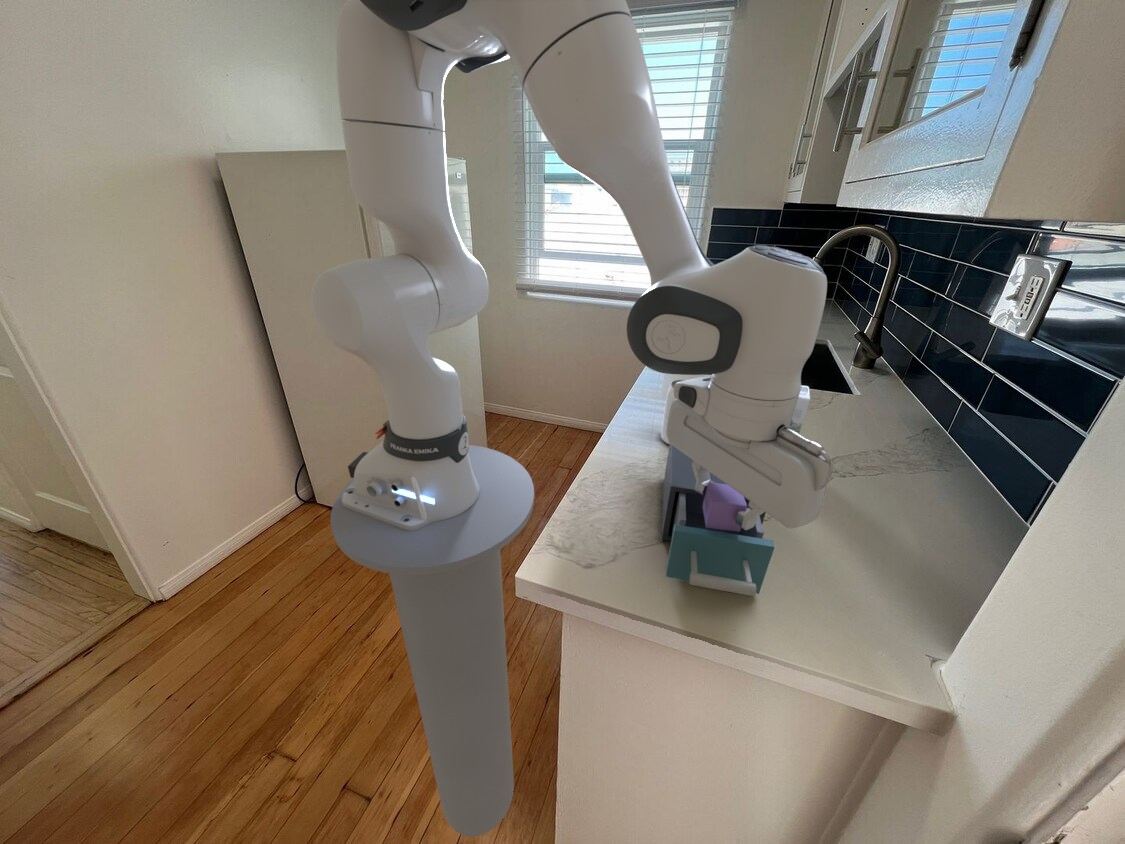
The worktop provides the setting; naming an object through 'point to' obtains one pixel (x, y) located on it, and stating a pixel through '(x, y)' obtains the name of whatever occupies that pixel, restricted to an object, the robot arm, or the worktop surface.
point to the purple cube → (722, 507)
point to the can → (668, 410)
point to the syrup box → (800, 409)
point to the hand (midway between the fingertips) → (722, 508)
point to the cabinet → (680, 486)
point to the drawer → (715, 551)
